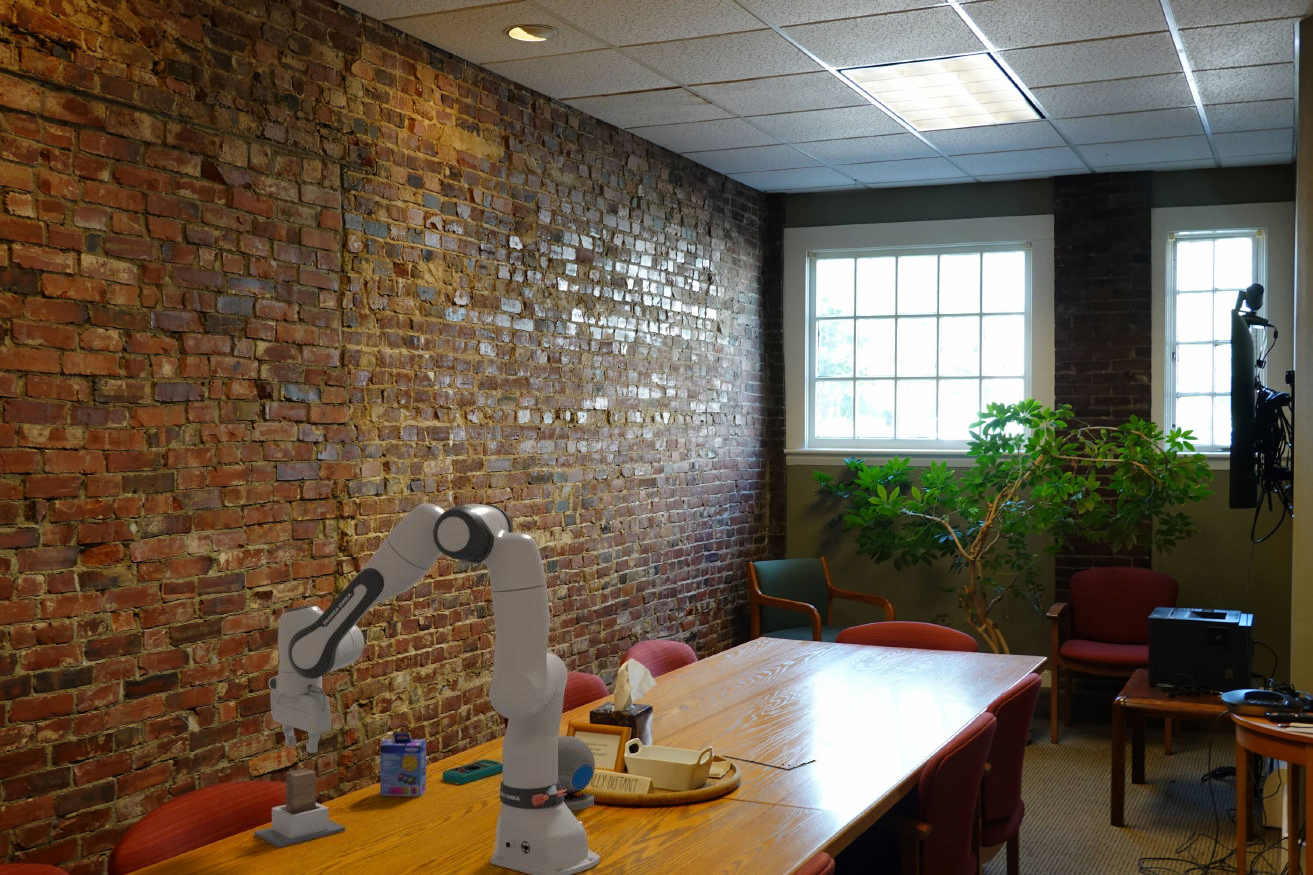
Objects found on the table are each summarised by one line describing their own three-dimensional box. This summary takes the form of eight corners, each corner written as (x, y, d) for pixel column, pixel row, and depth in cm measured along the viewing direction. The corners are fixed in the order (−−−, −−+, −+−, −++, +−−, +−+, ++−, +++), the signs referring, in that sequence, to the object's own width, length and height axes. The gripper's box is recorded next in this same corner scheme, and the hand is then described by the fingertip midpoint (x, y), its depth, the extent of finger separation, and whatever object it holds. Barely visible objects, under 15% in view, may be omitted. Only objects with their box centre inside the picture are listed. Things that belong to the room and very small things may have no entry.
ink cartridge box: (379, 796, 268) (379, 734, 269) (385, 790, 274) (385, 728, 274) (421, 797, 268) (421, 734, 268) (426, 790, 274) (426, 729, 274)
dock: (345, 830, 244) (345, 805, 244) (278, 847, 233) (278, 821, 233) (320, 819, 252) (320, 795, 252) (254, 835, 241) (254, 809, 241)
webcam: (570, 791, 272) (570, 727, 273) (606, 802, 263) (606, 736, 264) (527, 802, 263) (527, 736, 264) (563, 814, 254) (562, 746, 254)
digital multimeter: (440, 781, 282) (440, 769, 282) (484, 768, 294) (484, 757, 294) (460, 787, 278) (460, 774, 278) (504, 773, 289) (504, 761, 289)
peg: (315, 829, 242) (315, 772, 242) (295, 834, 239) (295, 776, 239) (305, 824, 245) (305, 767, 246) (285, 829, 242) (285, 772, 243)
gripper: (338, 686, 238) (339, 753, 237) (292, 674, 252) (293, 738, 252) (310, 690, 233) (310, 759, 233) (264, 678, 248) (265, 743, 248)
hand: (301, 748), depth 243 cm, fingers open, 8 cm apart
